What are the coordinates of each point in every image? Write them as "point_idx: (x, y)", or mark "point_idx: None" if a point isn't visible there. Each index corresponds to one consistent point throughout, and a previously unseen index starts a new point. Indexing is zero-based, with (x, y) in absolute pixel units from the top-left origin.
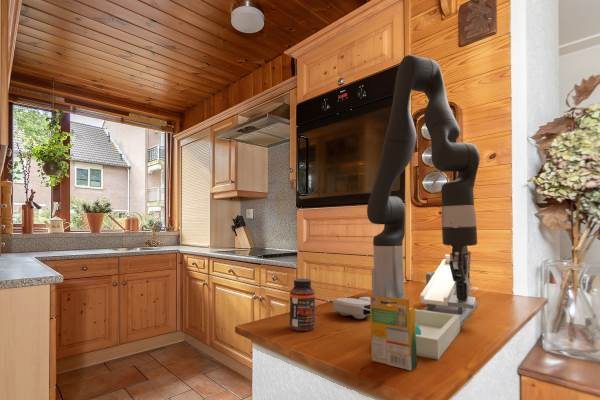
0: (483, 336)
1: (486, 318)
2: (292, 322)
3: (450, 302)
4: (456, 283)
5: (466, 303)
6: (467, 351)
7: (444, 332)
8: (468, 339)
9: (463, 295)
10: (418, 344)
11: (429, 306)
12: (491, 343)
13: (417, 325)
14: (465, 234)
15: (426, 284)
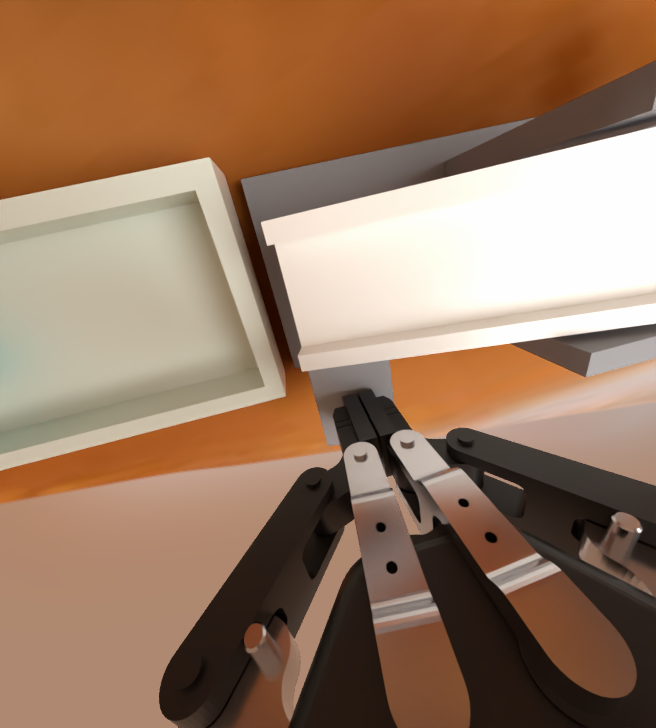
0: (285, 427)
1: (472, 363)
2: None
3: (309, 372)
4: (359, 442)
5: (328, 425)
6: (134, 453)
7: (39, 459)
8: (227, 416)
9: (337, 435)
10: None
11: (453, 171)
12: (244, 458)
13: None
14: None
15: (555, 109)
